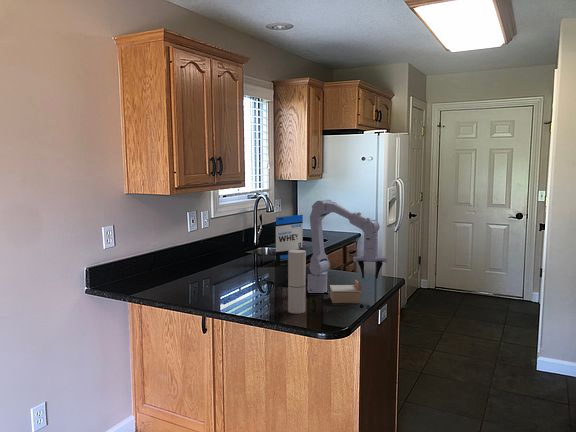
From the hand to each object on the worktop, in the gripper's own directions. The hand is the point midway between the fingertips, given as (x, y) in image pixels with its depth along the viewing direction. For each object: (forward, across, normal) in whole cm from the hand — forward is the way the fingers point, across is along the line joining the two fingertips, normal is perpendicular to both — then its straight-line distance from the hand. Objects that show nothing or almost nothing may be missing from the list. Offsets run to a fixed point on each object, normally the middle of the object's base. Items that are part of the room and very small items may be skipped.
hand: (369, 277), depth 213 cm
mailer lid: (+5, +11, +1) cm, 12 cm away
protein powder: (+11, +42, -79) cm, 90 cm away
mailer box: (+10, +11, +1) cm, 15 cm away
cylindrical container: (+11, +31, +18) cm, 38 cm away
